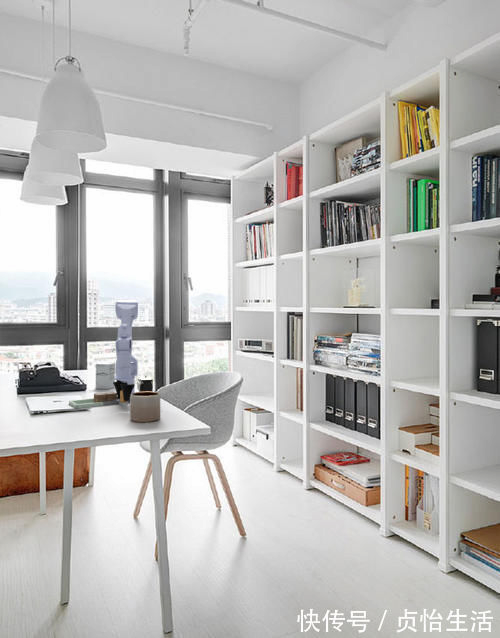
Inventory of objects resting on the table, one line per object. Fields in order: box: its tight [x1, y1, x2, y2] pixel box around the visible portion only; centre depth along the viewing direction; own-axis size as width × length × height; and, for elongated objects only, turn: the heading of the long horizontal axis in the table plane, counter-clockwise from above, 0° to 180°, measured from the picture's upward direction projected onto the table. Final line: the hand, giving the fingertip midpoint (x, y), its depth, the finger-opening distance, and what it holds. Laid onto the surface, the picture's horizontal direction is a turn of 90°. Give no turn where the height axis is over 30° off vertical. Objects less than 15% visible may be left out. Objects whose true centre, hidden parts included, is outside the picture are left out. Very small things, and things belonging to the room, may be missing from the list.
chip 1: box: [93, 392, 107, 403], centre depth 210 cm, size 4×4×4 cm
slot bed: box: [101, 397, 131, 407], centre depth 213 cm, size 10×12×2 cm
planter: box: [129, 391, 161, 424], centre depth 184 cm, size 11×11×10 cm
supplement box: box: [94, 361, 116, 390], centre depth 253 cm, size 7×7×13 cm
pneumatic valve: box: [136, 375, 154, 392], centre depth 214 cm, size 6×12×12 cm, turn 20°
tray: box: [68, 397, 103, 409], centre depth 206 cm, size 10×11×2 cm
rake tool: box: [118, 391, 129, 407], centre depth 208 cm, size 4×3×6 cm, turn 36°
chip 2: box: [104, 391, 117, 401], centre depth 212 cm, size 4×4×4 cm
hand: (123, 399), depth 208 cm, fingers open, 6 cm apart
